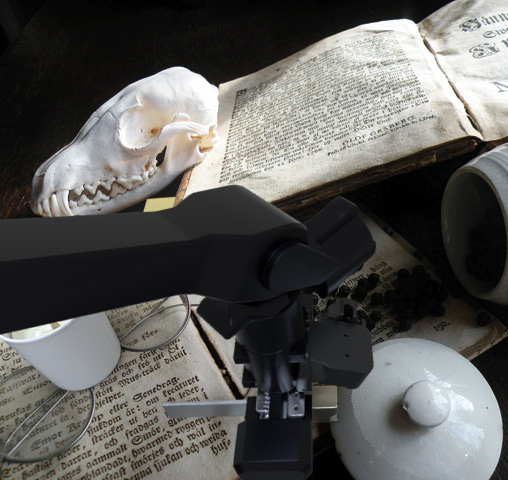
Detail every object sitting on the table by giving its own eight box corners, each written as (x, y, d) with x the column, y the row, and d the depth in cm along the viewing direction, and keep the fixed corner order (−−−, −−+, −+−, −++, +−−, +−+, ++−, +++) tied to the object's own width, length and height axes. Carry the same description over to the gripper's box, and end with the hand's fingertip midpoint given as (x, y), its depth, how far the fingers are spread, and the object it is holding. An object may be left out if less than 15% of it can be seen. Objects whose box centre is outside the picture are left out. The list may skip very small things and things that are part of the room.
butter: (142, 257, 69) (134, 240, 67) (153, 215, 76) (147, 198, 73) (172, 254, 69) (165, 238, 67) (181, 213, 76) (175, 196, 73)
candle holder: (29, 397, 55) (-31, 341, 46) (64, 326, 61) (17, 265, 53) (112, 398, 54) (66, 341, 45) (138, 326, 61) (102, 264, 52)
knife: (337, 400, 51) (336, 385, 49) (338, 422, 49) (337, 407, 47) (172, 405, 52) (163, 390, 49) (167, 427, 50) (158, 413, 47)
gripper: (379, 436, 32) (372, 505, 43) (360, 238, 45) (358, 330, 56) (214, 441, 32) (250, 508, 43) (243, 242, 45) (265, 333, 56)
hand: (287, 408), depth 50 cm, fingers closed on knife, 2 cm apart
